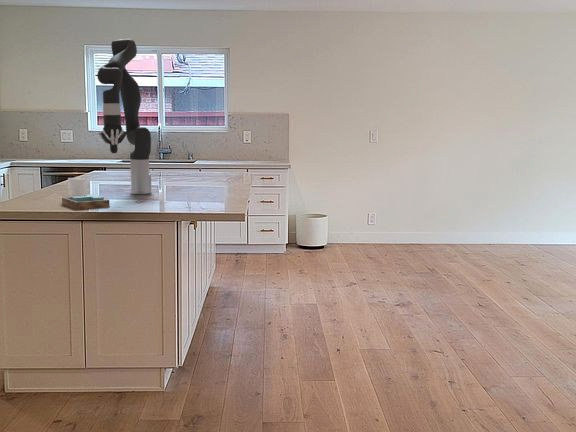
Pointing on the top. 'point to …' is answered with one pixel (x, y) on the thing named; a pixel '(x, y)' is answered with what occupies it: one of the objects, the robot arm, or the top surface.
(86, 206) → the walnut dock
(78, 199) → the teal T-block
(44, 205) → the top surface
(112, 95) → the robot arm
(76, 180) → the white cup
